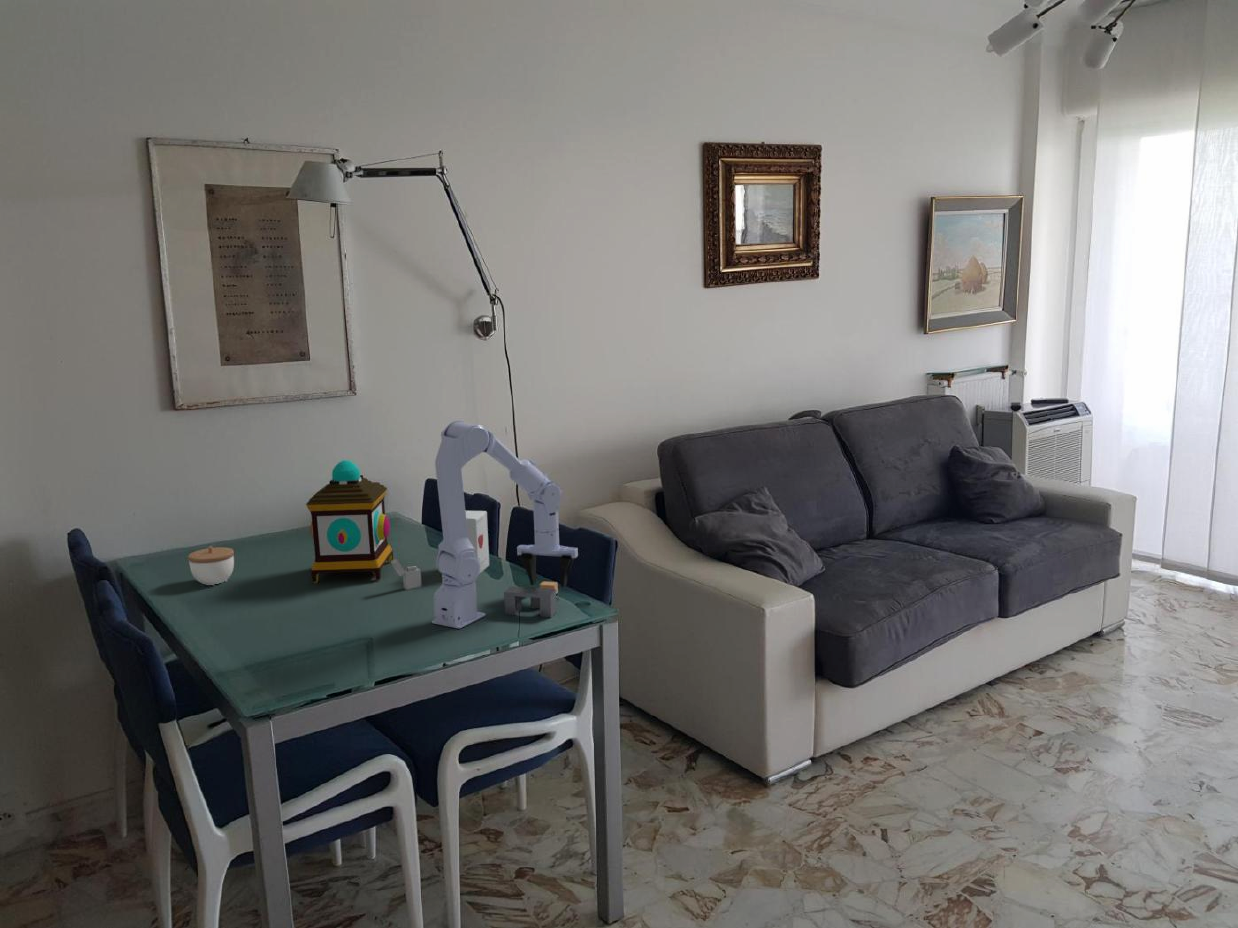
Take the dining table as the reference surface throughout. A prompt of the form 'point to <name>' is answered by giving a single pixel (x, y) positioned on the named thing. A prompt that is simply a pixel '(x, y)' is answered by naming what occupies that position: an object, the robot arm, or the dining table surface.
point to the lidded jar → (212, 564)
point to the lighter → (408, 575)
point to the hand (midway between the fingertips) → (548, 584)
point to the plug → (544, 585)
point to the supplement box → (479, 536)
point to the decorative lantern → (349, 524)
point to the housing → (515, 593)
